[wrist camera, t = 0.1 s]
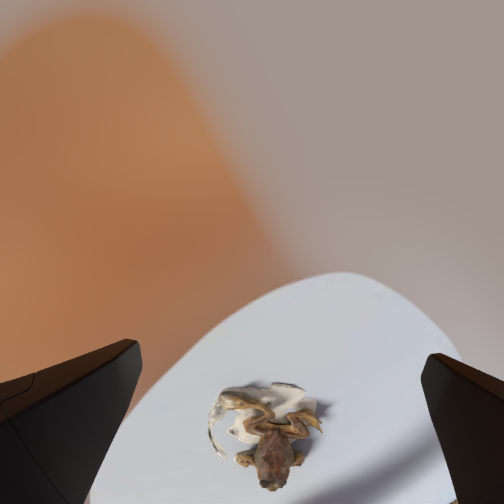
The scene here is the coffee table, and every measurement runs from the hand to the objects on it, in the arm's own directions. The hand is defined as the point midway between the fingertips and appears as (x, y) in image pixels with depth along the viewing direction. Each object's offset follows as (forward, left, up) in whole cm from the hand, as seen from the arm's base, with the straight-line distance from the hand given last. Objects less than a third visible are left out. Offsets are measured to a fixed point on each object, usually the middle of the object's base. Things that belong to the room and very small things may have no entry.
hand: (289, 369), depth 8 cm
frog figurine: (-10, -9, -16) cm, 21 cm away
